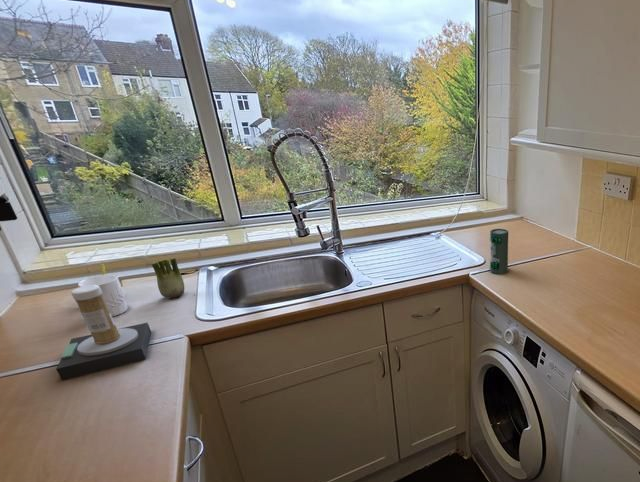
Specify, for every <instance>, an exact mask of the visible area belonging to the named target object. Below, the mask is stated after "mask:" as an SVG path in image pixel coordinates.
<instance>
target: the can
mask: <svg viewBox="0 0 640 482" xmlns="http://www.w3.org/2000/svg"><path fill="white" fill-rule="evenodd" d="M489 265H490V266H489V271H490V272H491V273H492V274H493V275H494V274H496V275H504V274H506V273H508V271H509V270H508V269H509V230H508V229H504V228H493V229H490V230H489Z"/></svg>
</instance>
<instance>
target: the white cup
mask: <svg viewBox="0 0 640 482" xmlns="http://www.w3.org/2000/svg"><path fill="white" fill-rule="evenodd" d="M87 285H98V286H99V287H100V289H101V291H102V296H103V298H104V300H105V303H106V305H107V307H108V310H109V312H110V313H111V315H112V317H116V316H118V315H121V314H123V313H125V312H126V311H127V310H128V309H129V308H128V305H127V303H126V298H125V294H124V291H123V287H121V285H120V282H119V276H118V275H117V274H106V275H103V274H101V275H97V276H92V277H88V278H85V279H83V280H81V281H79V282H78V283H77V287H78V288H79V287H82V286H87Z"/></svg>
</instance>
